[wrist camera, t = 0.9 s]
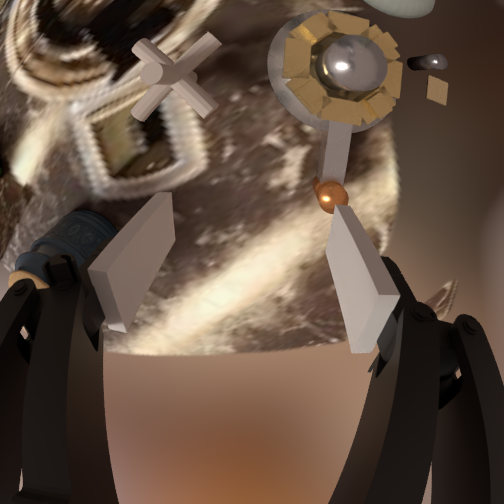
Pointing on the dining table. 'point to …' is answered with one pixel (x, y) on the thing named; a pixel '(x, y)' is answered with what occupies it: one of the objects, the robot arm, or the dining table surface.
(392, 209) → the dining table surface
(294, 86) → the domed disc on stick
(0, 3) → the coffee can
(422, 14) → the air freshener
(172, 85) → the pipe connector
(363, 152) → the dining table surface
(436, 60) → the gold and silver mechanism
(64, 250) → the canister
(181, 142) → the dining table surface
